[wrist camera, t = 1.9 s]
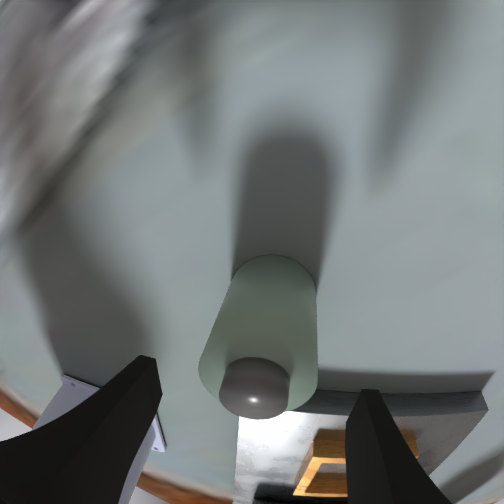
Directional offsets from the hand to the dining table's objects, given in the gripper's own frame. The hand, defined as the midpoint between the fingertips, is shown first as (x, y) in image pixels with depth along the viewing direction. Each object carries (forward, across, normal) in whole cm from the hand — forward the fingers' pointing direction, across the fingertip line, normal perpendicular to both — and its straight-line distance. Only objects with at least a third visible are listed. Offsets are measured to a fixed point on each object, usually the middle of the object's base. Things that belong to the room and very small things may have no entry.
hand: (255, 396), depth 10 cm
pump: (+7, 0, 0) cm, 7 cm away
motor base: (+7, -8, +18) cm, 21 cm away
